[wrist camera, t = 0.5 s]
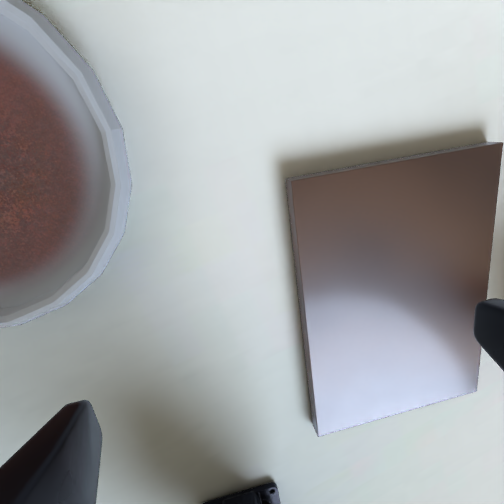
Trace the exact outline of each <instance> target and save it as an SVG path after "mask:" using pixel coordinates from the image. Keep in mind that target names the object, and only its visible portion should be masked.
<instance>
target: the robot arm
mask: <svg viewBox="0 0 504 504" xmlns="http://www.w3.org/2000/svg"><path fill="white" fill-rule="evenodd" d="M473 333H474V337H475V339H476V340H477V342H478V343H479V344H480V345H481V346H482V348H483V349H484V350H485V351H486V352H487V353H488V354H489V355H490V356H491V357H492V359H493V360H494V361H495V362H496V363H497V364H498V365H499V366H500V367H501V369H502V370H503V371H504V300H503V299H497V298H494V299H489V300H485V301H481V302H479V303H477V305H476V307H475V316H474V328H473ZM101 448H102V432H101V428H100V425H99V423H98V420H97V418H96V415H95V413H94V410H93V407H92V405H91V403H90V402H89V401H87V400H82V401H78V402H74V403H70V404H67V405H65V406H64V407H63V408H62V409H61V410H60V411H59V412H58V413H57V414H56V415H55V416H54V417H53V418H51V419H50V420H49V421H48V422H47V423H46V424H45V425H44V426H43V427H42V428H41V429H40V430H39V431H38V432H37V433H36V434H35V435H34V436H33V437H32V438H31V439H30V440H29V441H27V442H26V443H25V444H24V445H23V446H22V447H21V448H20V449H19V450H18V451H17V452H16V453H15V454H14V455H13V456H12V457H11V458H10V459H9V460H8V461H7V462H6V463H4V464H3V465H2V466H1V467H0V504H96V497H97V487H98V477H99V467H100V458H101ZM203 504H280V499H279V494H278V489H277V485H276V484H275V483H268V484H265V485H262V486H258V487H255V488H252V489H248V490H245V491H241V492H238V493H235V494H231V495H228V496H225V497H221V498H218V499H215V500H211V501H208V502H205V503H203Z"/></svg>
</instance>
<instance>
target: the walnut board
mask: <svg viewBox="0 0 504 504" xmlns="http://www.w3.org/2000/svg"><path fill="white" fill-rule="evenodd" d="M502 147H503V143H502V142H485V143H480V144H474V145H469V146H463V147H458V148H452V149H447V150H441V151H435V152H430V153H424V154H419V155H413V156H408V157H402V158H397V159H391V160H386V161H380V162H375V163H369V164H364V165H358V166H353V167H347V168H341V169H336V170H330V171H325V172H319V173H314V174H308V175H303V176H297V177H292V178H286V179H285V180H286V189H287V198H288V207H289V216H290V225H291V234H292V243H293V252H294V261H295V270H296V279H297V288H298V297H299V306H300V315H301V324H302V333H303V342H304V351H305V360H306V369H307V377H308V386H309V395H310V404H311V413H312V422H313V427H314V429H315V431H316V433H317V435H318V437H319V436H322V435H326V434H329V433H333V432H336V431H340V430H343V429H347V428H350V427H354V426H357V425H361V424H364V423H368V422H371V421H375V420H378V419H382V418H385V417H389V416H392V415H396V414H399V413H403V412H406V411H410V410H413V409H417V408H420V407H423V406H427V405H430V404H434V403H437V402H441V401H444V400H448V399H451V398H455V397H458V396H462V395H465V394H469V393H472V392H476V391H477V383H478V374H479V365H480V355H481V345H480V344H479V343H478V342H477V340H476V339H475V337H474V333H473V328H474V316H475V307H476V305H477V303H479V302H481V301H485V300H486V298H487V289H488V280H489V270H490V261H491V251H492V242H493V232H494V223H495V214H496V204H497V195H498V185H499V176H500V166H501V157H502Z"/></svg>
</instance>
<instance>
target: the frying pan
mask: <svg viewBox="0 0 504 504" xmlns="http://www.w3.org/2000/svg"><path fill="white" fill-rule="evenodd" d="M131 188H132V180H131V174H130V169H129V163H128V157H127V152H126V146H125V140H124V134H123V129H122V126H121V124H120V122H119V120H118V118H117V117H116V115H115V113H114V111H113V109H112V107H111V105H110V103H109V101H108V99H107V97H106V95H105V93H104V91H103V89H102V87H101V85H100V83H99V81H98V79H97V77H96V75H95V73H94V71H93V69H92V68H91V67H90V66H89V65H88V64H87V63H86V62H85V61H84V59H83V58H82V57H81V56H80V55H79V54H78V53H77V52H76V50H75V49H74V48H73V47H72V46H71V45H70V44H69V43H68V42H67V40H66V39H65V38H64V37H63V36H62V35H61V34H60V33H59V32H58V30H57V29H56V28H55V27H54V26H53V25H52V24H51V23H50V21H49V20H48V19H47V18H46V17H45V16H44V15H43V14H41V13H40V12H38V11H37V10H35V9H34V8H32V7H31V6H29V5H28V4H26V3H25V2H23V1H22V0H0V328H2V327H9V326H16V325H22V324H24V323H26V322H28V321H31V320H33V319H35V318H38V317H40V316H42V315H44V314H47V313H49V312H51V311H54V310H56V309H58V308H61V307H63V306H65V305H67V304H68V303H69V302H70V301H71V300H73V299H74V298H75V297H76V296H77V295H78V294H80V293H81V292H82V291H83V290H84V289H85V288H86V287H88V286H89V285H90V284H91V283H92V282H93V281H94V280H96V279H97V278H98V277H99V276H100V275H101V274H102V273H103V271H104V269H105V267H106V266H107V264H108V262H109V260H110V258H111V257H112V255H113V253H114V251H115V249H116V248H117V246H118V244H119V242H120V240H121V238H122V237H123V235H124V233H125V226H126V220H127V213H128V207H129V201H130V194H131Z"/></svg>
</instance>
